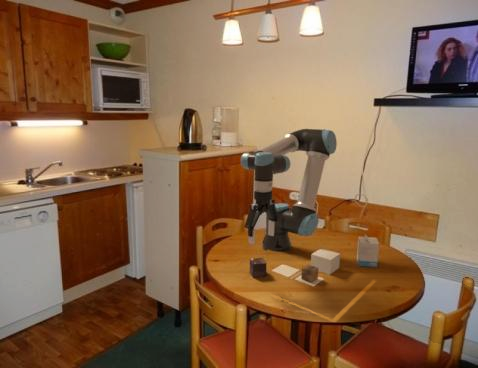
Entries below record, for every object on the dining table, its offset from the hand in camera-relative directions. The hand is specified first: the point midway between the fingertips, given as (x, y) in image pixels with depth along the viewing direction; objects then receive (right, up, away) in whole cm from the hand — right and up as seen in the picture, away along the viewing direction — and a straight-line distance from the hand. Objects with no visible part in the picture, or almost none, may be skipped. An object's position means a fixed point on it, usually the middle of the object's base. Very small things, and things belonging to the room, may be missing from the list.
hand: (261, 239), depth 146 cm
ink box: (+51, -14, +19) cm, 56 cm away
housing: (+29, -16, +10) cm, 34 cm away
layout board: (+16, -17, +4) cm, 24 cm away
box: (-1, -17, +4) cm, 17 cm away
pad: (+11, -15, +7) cm, 20 cm away
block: (+20, -17, -1) cm, 26 cm away
